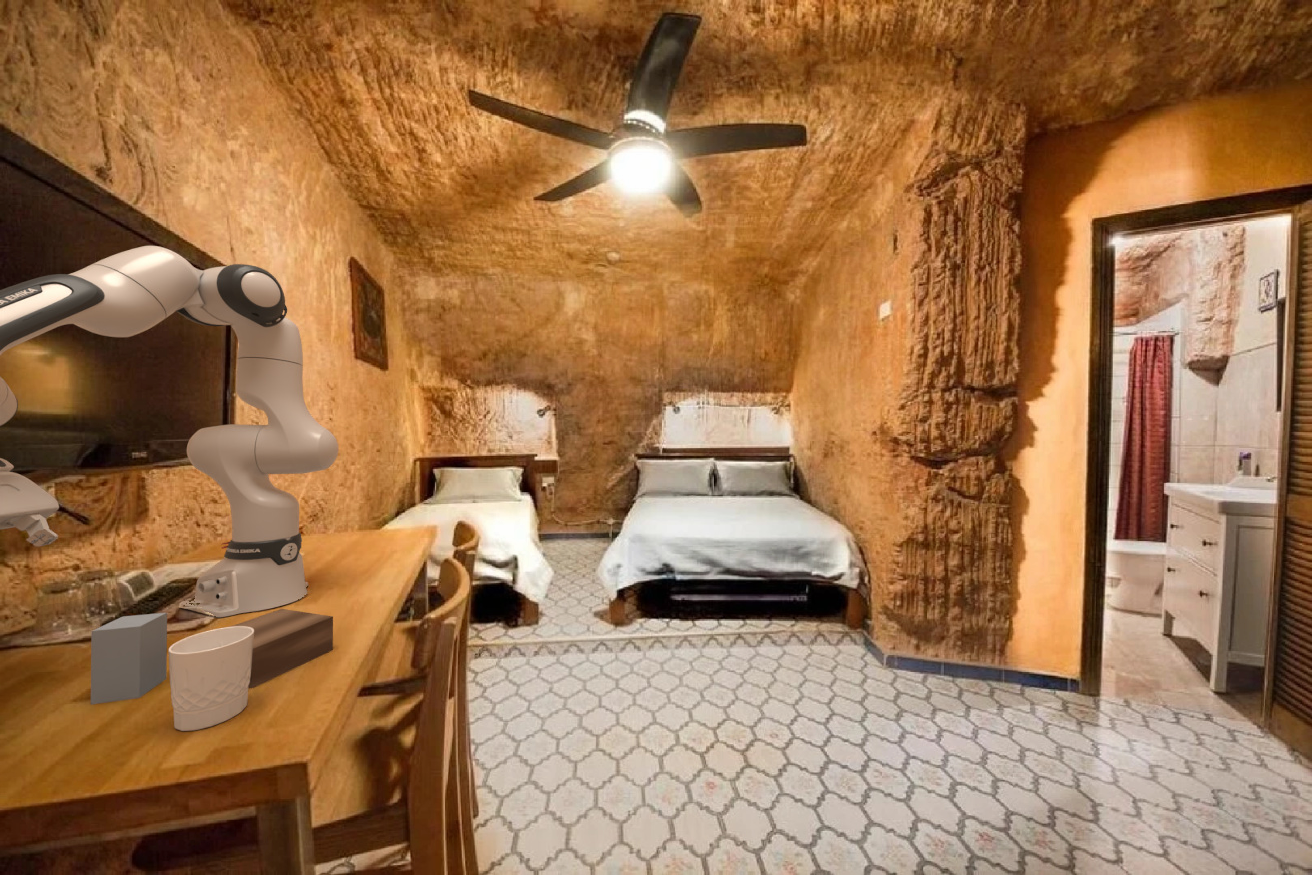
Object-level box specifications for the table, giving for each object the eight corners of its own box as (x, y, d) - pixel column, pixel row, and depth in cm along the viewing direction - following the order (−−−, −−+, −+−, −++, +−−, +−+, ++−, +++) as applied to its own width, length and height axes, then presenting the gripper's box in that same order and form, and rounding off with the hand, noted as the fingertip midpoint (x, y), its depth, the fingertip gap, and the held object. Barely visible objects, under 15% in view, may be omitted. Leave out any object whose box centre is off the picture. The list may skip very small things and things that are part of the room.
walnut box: (195, 677, 66) (195, 638, 66) (281, 642, 78) (281, 608, 78) (251, 690, 63) (252, 649, 63) (332, 651, 75) (333, 616, 75)
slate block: (90, 704, 59) (91, 631, 59) (121, 684, 64) (122, 616, 64) (139, 697, 61) (140, 626, 61) (166, 678, 65) (167, 612, 65)
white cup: (218, 695, 61) (219, 624, 62) (268, 699, 61) (269, 627, 61) (148, 732, 54) (149, 651, 54) (204, 737, 53) (205, 655, 53)
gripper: (-188, 462, 46) (-57, 548, 49) (17, 458, 66) (103, 520, 69) (-258, 506, 45) (-119, 592, 48) (-27, 489, 64) (63, 550, 67)
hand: (13, 549), depth 58 cm, fingers open, 8 cm apart
